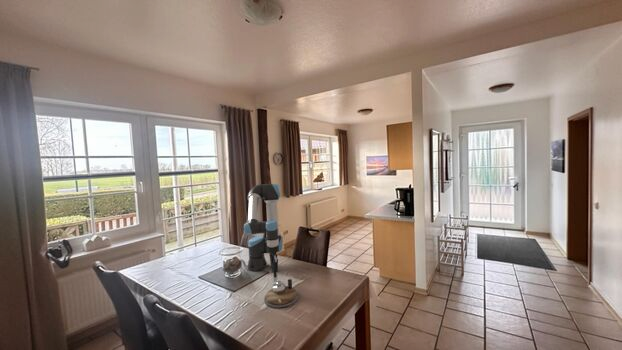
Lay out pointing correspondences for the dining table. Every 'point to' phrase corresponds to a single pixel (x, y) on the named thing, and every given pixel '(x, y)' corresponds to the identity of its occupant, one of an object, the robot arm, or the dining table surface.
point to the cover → (279, 287)
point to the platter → (282, 295)
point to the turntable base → (281, 305)
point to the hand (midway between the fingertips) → (275, 281)
